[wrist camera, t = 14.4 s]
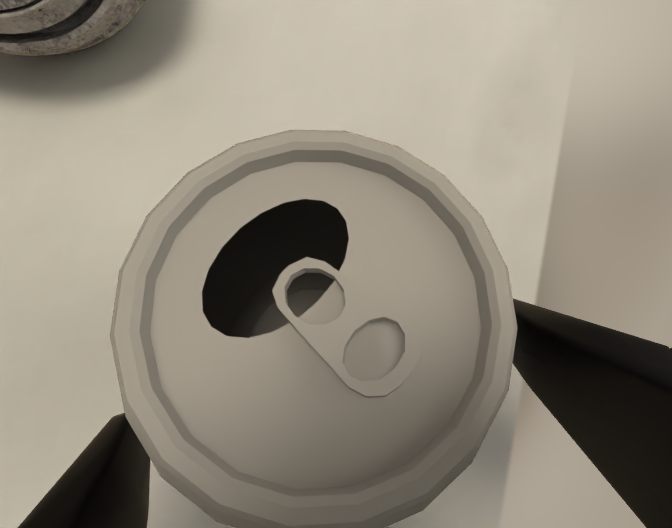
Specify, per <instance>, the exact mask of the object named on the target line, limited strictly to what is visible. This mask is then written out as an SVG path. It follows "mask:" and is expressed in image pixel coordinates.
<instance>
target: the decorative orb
mask: <svg viewBox="0 0 672 528" xmlns="http://www.w3.org/2000/svg"><path fill="white" fill-rule="evenodd" d="M144 1H145V0H0V53H5V54H14V55H28V56H38V55H50V54H62V53H69V52H74V51H79V50H83V49H86V48H89V47H92V46H94V45H97V44H99V43H101V42H102V41H104V40H106V39H108V38H110V37H112V36H113V35H114V34H116V33H117V32H118V31H120V30H121V29H122V28H123V27H124V26H125V25H126V24H127V23H129V22H130V20H131V19H132V18H133V17H134V16H135V14H136V13H137V12H138V10H139V9H140V7H141V6H142V5H143V3H144Z"/></svg>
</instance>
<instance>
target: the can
mask: <svg viewBox="0 0 672 528" xmlns="http://www.w3.org/2000/svg"><path fill="white" fill-rule="evenodd" d="M516 335H517V322H516V316H515V310H514V304H513V298H512V292H511V286H510V279H509V273H508V268H507V266H506V264H505V262H504V260H503V258H502V256H501V254H500V252H499V250H498V248H497V246H496V244H495V242H494V240H493V238H492V236H491V234H490V232H489V230H488V228H487V225H486V223H485V221H484V219H483V217H482V216H481V215H480V214H479V213H478V212H477V210H476V209H475V208H474V207H473V206H472V205H471V204H470V203H469V202H468V201H467V199H466V198H465V197H464V196H463V195H462V194H461V193H460V192H459V191H458V190H457V189H456V187H455V186H454V185H453V184H452V183H451V182H450V181H449V180H448V179H447V178H446V177H445V175H443V174H442V173H440V172H438V171H437V170H435V169H433V168H432V167H430V166H429V165H427V164H425V163H424V162H422V161H421V160H419V159H417V158H416V157H414V156H412V155H411V154H409V153H408V152H406V151H404V150H403V149H401V148H400V147H398V146H395V145H391V144H388V143H385V142H381V141H378V140H374V139H371V138H368V137H364V136H361V135H357V134H354V133H351V132H347V131H321V130H289V131H285V132H281V133H277V134H273V135H269V136H265V137H261V138H257V139H254V140H250V141H246V142H242V143H238V144H236V145H234V146H232V147H231V148H229V149H227V150H225V151H224V152H222V153H220V154H218V155H217V156H215V157H213V158H212V159H210V160H208V161H206V162H205V163H203V164H201V165H200V166H198V167H196V168H194V169H193V170H191V171H189V172H188V173H187V174H186V175H185V176H184V177H183V178H182V179H181V180H180V181H179V182H178V183H177V184H176V185H175V186H174V187H173V188H172V189H171V191H170V192H169V193H168V194H167V195H166V196H165V197H164V198H163V199H162V200H161V201H160V202H159V203H158V204H157V205H156V206H155V207H154V208H153V210H152V211H151V212H150V213H149V214H148V215H147V216H146V218H145V220H144V222H143V224H142V226H141V228H140V230H139V232H138V234H137V236H136V238H135V240H134V242H133V244H132V247H131V249H130V251H129V253H128V255H127V257H126V259H125V261H124V263H123V265H122V267H121V269H120V271H119V277H118V284H117V291H116V297H115V304H114V311H113V318H112V325H111V332H110V338H111V344H112V349H113V354H114V359H115V364H116V370H117V375H118V380H119V385H120V390H121V396H122V401H123V406H124V411H125V416H126V418H127V420H128V422H129V423H130V425H131V427H132V429H133V430H134V432H135V434H136V435H137V437H138V439H139V440H140V442H141V444H142V445H143V447H144V449H145V450H146V452H147V454H148V456H149V457H150V459H151V461H152V462H153V464H154V466H155V467H156V469H157V471H158V472H159V474H160V476H161V477H162V478H163V479H164V480H166V481H167V482H168V483H169V484H171V485H172V486H173V487H174V488H176V489H177V490H178V491H179V492H181V493H182V494H183V495H184V496H186V497H187V498H188V499H189V500H191V501H192V502H193V503H194V504H196V505H197V506H198V507H199V508H201V509H202V510H203V511H204V512H206V513H207V514H208V515H209V516H210V517H212V518H213V519H214V520H215V521H217V522H219V523H223V524H226V525H229V526H232V527H235V528H385V527H387V526H389V525H391V524H393V523H396V522H398V521H400V520H402V519H405V518H407V517H409V516H411V515H414V514H416V513H418V512H420V511H422V510H424V509H425V508H426V507H427V506H428V505H429V504H430V503H431V502H432V501H433V500H434V499H435V498H436V497H437V496H438V495H439V494H440V493H441V492H442V491H443V490H444V489H445V488H446V487H447V486H448V485H449V484H450V483H451V482H452V481H453V480H455V479H456V478H457V477H458V476H459V475H460V474H461V473H462V472H463V471H464V470H465V469H466V468H467V467H468V466H469V465H470V464H471V463H472V461H473V459H474V457H475V455H476V453H477V451H478V450H479V448H480V446H481V444H482V442H483V440H484V438H485V436H486V434H487V432H488V430H489V428H490V426H491V424H492V422H493V420H494V418H495V416H496V414H497V412H498V410H499V408H500V406H501V404H502V402H503V400H504V398H505V396H506V394H507V392H508V390H509V383H510V376H511V369H512V362H513V356H514V349H515V342H516Z"/></svg>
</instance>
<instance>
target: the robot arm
mask: <svg viewBox="0 0 672 528" xmlns="http://www.w3.org/2000/svg"><path fill="white" fill-rule="evenodd" d="M513 304H514V310H515V316H516V322H517V335H516V342H515V349H514V356H513V362H512V363H513V364H514V366H515V367H516V369H517V370H518V372H519V373H520V374H521V376H522V377H523V379H524V380H525V381H526V383H527V384H528V385H529V387H530V388H531V389H532V391H533V392H534V393H535V394H536V395H537V396H538V398H539V399H540V400H541V401H542V403H543V404H544V405H545V406H546V407H547V409H548V410H549V411H550V412H551V413H552V415H553V416H554V417H555V418H556V419H557V420H558V422H559V423H560V424H561V425H562V426H563V428H564V429H565V430H566V431H567V433H568V434H569V435H570V436H571V437H572V439H573V440H574V441H575V442H576V443H577V445H578V446H579V447H580V448H581V450H582V451H583V452H584V453H585V454H586V455H587V457H588V458H589V459H590V460H591V461H592V463H593V464H594V465H595V466H596V467H597V469H598V470H599V471H600V472H601V474H602V475H603V476H604V477H605V478H606V480H607V481H608V482H609V483H610V484H611V486H612V487H613V488H614V489H615V490H616V491H617V493H618V494H619V495H620V496H621V497H622V499H623V500H624V501H625V502H626V504H627V505H628V506H629V507H630V508H631V510H632V511H633V512H634V513H635V514H636V516H637V517H638V518H639V519H640V520H641V522H642V523H643V524H644V525H645V526H646V528H672V348H669V347H667V346H665V345H662V344H658V343H655V342H652V341H649V340H645V339H642V338H639V337H636V336H632V335H629V334H626V333H622V332H620V331H616V330H613V329H610V328H606V327H603V326H600V325H597V324H593V323H590V322H587V321H584V320H581V319H577V318H574V317H571V316H568V315H564V314H561V313H558V312H555V311H551V310H548V309H545V308H542V307H539V306H535V305H532V304H529V303H526V302H522V301H519V300H516V299H513ZM149 479H150V457H149V456H148V454H147V452H146V450H145V449H144V447H143V445H142V444H141V442H140V440H139V439H138V437H137V435H136V434H135V432H134V430H133V429H132V427H131V425H130V423H129V422H128V420H127V418H126V416H125V413H123V414H119V415H116V416H114V417H113V418H111V419H110V421H109V422H108V423H107V424H106V425H105V426H104V428H103V429H102V430H101V431H100V432H99V433H98V435H97V436H96V437H95V438H94V439H93V440H92V442H91V443H90V444H89V445H88V446H87V447H86V449H85V450H84V451H83V452H82V453H81V454H80V456H79V457H78V458H77V459H76V460H75V461H74V463H73V464H72V465H71V466H70V467H69V468H68V470H67V471H66V472H65V473H64V474H63V475H62V477H61V478H60V479H59V480H58V481H57V482H56V484H55V485H54V486H53V487H52V488H51V489H50V491H49V492H48V493H47V494H46V495H45V496H44V498H43V499H42V500H41V501H40V502H39V503H38V505H37V506H36V507H35V508H34V509H33V510H32V512H31V513H30V514H29V515H28V516H27V517H26V519H25V520H24V521H23V522H22V523H21V524H20V526H19V527H18V528H147V520H148V509H149Z"/></svg>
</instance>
